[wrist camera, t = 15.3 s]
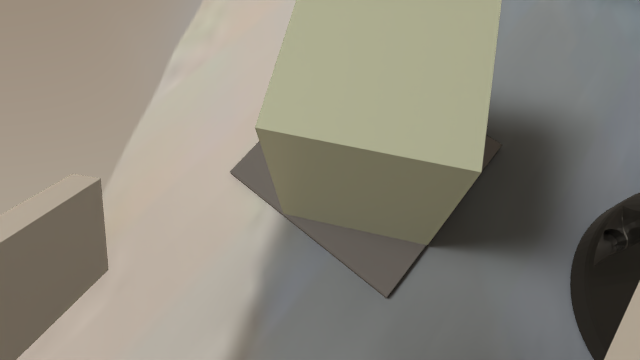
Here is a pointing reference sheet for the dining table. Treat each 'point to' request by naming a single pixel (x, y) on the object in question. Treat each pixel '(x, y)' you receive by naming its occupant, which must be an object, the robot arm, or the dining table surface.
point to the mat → (345, 243)
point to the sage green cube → (380, 111)
